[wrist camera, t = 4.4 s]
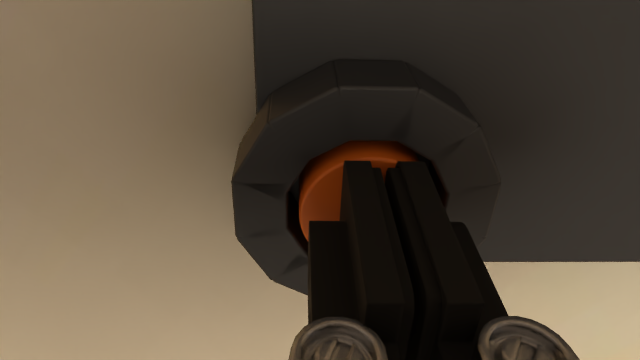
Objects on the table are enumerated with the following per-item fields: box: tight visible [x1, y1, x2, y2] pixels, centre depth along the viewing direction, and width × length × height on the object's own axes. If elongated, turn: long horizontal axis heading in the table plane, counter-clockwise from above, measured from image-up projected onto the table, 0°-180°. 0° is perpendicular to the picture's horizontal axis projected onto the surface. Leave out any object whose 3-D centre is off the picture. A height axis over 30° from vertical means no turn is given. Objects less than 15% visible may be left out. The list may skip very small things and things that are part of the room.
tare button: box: [299, 141, 419, 241], centre depth 11 cm, size 3×3×2 cm
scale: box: [231, 0, 640, 295], centre depth 10 cm, size 16×14×3 cm
